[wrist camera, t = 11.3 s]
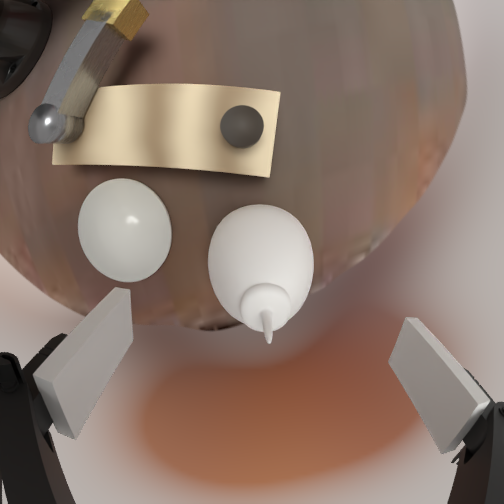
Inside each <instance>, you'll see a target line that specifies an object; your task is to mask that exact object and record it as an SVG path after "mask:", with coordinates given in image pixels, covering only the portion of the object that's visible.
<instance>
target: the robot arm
mask: <svg viewBox="0 0 504 504" xmlns="http://www.w3.org/2000/svg"><path fill="white" fill-rule="evenodd" d="M51 25H52V12H51V9H50V7H49V6H48V5H47V4H45V3H44V2H42V1H41V0H0V98H2V97H4V96H6V95H8V94H9V93H10V92H12V91H13V90H14V89H15V88H16V87H17V86H18V85H19V84H20V83H21V82H22V81H23V80H24V79H25V78H26V76H27V75H28V74H29V72H30V71H31V69H32V68H33V66H34V65H35V63H36V62H37V60H38V58H39V56H40V55H41V53H42V51H43V49H44V47H45V44H46V42H47V39H48V36H49V33H50V29H51ZM132 342H133V329H132V316H131V299H130V290H129V289H124V288H118V287H115V288H114V289H113V290H112V291H111V292H110V293H109V294H108V295H107V296H106V297H105V298H104V299H103V300H102V301H101V302H100V303H99V304H98V305H97V306H96V307H95V308H94V309H93V310H92V311H91V312H90V313H89V314H88V315H87V316H86V317H85V318H84V319H83V320H82V321H81V322H80V323H79V324H78V325H77V326H76V327H75V328H74V329H73V330H72V332H71V333H70V334H69V335H67V334H63V333H61V334H59V335H58V336H56V337H54V338H52V339H51V340H50V341H49V342H48V343H47V344H46V345H45V346H44V348H42V349H41V350H40V351H39V353H37V354H36V355H35V356H34V357H33V359H32V360H31V361H30V362H29V363H28V364H27V365H26V366H25V367H24V368H23V369H21V366H20V364H19V361H18V358H17V357H16V356H15V355H14V354H11V353H8V352H1V353H0V504H2V480H3V485H4V489H5V494H6V498H7V501H8V504H76V503H75V501H74V499H73V496H72V494H71V492H70V489H69V487H68V484H67V482H66V479H65V476H64V474H63V471H62V468H61V465H60V462H59V459H58V456H57V453H56V450H55V446H54V443H53V440H52V437H51V433H50V432H49V430H48V429H49V428H50V426H51V424H52V423H54V426H55V428H56V429H57V431H58V433H60V434H63V435H65V436H67V437H70V438H72V439H75V440H76V439H77V437H78V435H79V433H80V431H81V430H82V428H83V426H84V424H85V422H86V420H87V419H88V417H89V415H90V413H91V411H92V410H93V408H94V406H95V404H96V403H97V401H98V399H99V397H100V395H101V394H102V392H103V390H104V389H105V387H106V385H107V383H108V382H109V380H110V378H111V377H112V375H113V373H114V371H115V370H116V368H117V366H118V365H119V363H120V361H121V360H122V358H123V356H124V355H125V353H126V351H127V350H128V348H129V347H130V345H131V343H132ZM388 363H389V364H390V366H391V368H392V369H393V371H394V372H395V374H396V376H397V377H398V379H399V381H400V382H401V384H402V386H403V387H404V389H405V391H406V392H407V394H408V396H409V397H410V399H411V401H412V402H413V404H414V406H415V408H416V409H417V411H418V413H419V415H420V416H421V418H422V420H423V421H424V423H425V425H426V427H427V429H428V431H429V432H430V434H431V436H432V438H433V440H434V441H435V443H436V445H437V447H438V449H439V451H440V453H441V454H444V453H447V452H450V451H453V450H455V449H456V447H457V446H458V445H459V444H460V443H461V441H462V440H463V441H464V443H465V446H464V447H463V448H462V449H461V450H460V452H459V453H458V454H457V455H456V456H455V458H454V459H453V460H452V462H451V463H454V462H455V461H456V460H457V459H458V458H459V461H458V462H457V463H456V464H457V465H458V467H457V472H456V475H455V479H454V483H453V486H452V490H451V493H450V497H449V500H448V504H504V402H498V403H495V402H494V401H493V400H492V398H491V397H490V396H489V395H488V394H487V392H486V391H485V390H484V389H483V388H482V386H481V385H479V383H478V382H477V380H474V377H473V376H472V375H471V373H470V372H469V371H468V370H466V369H465V368H463V367H462V366H461V365H460V364H459V363H458V361H457V360H456V359H455V358H454V357H453V356H452V355H451V354H450V352H449V351H448V350H447V349H446V348H445V347H444V346H443V345H442V344H441V342H439V340H438V339H437V338H436V337H435V336H434V335H433V334H432V333H431V332H430V331H429V330H428V329H427V328H426V326H425V325H424V324H423V323H422V322H421V321H420V320H419V319H418V318H408V317H406V318H405V320H404V323H403V326H402V329H401V331H400V334H399V337H398V339H397V342H396V345H395V347H394V349H393V352H392V354H391V357H390V359H389V362H388Z"/></svg>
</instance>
